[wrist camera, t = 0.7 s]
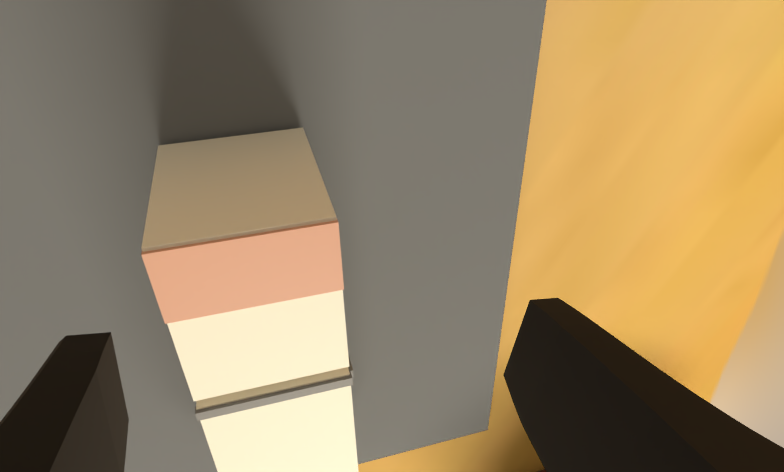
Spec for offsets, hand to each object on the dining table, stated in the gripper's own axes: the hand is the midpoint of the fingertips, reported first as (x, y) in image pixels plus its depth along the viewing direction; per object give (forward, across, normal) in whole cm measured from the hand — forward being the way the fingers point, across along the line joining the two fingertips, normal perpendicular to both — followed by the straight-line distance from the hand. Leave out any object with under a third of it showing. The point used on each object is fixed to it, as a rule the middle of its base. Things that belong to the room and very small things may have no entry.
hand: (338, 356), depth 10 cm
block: (+9, +1, +2) cm, 10 cm away
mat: (+10, +1, +5) cm, 11 cm away
